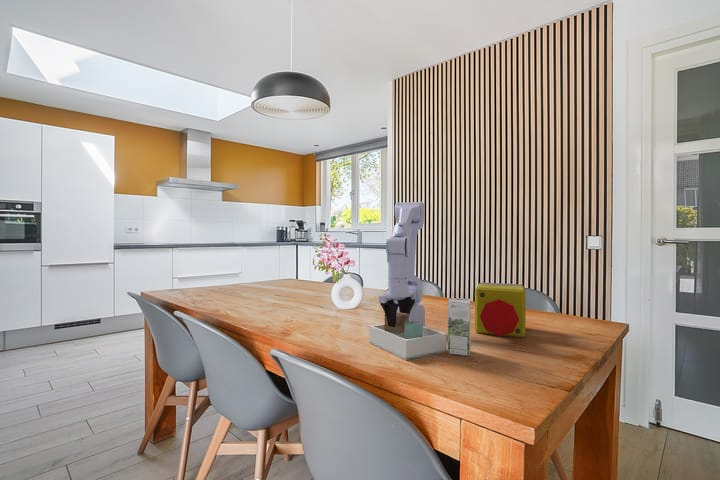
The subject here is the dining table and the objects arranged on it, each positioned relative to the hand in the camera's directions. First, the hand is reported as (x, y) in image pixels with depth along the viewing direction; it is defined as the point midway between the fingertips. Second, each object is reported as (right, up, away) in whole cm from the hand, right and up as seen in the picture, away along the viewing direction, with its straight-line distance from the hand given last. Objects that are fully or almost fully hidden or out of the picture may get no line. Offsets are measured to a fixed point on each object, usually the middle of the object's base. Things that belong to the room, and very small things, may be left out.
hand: (397, 324), depth 107 cm
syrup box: (+16, -6, -8) cm, 19 cm away
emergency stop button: (+34, -6, +12) cm, 37 cm away
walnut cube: (0, -2, 0) cm, 2 cm away
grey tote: (+2, -6, -3) cm, 7 cm away
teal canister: (+3, -5, -7) cm, 9 cm away
